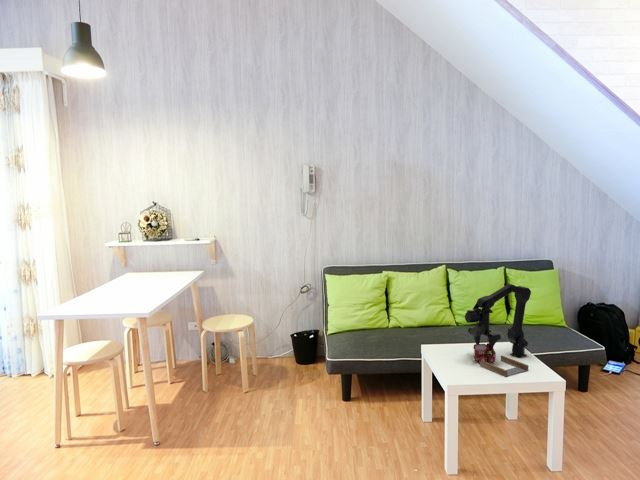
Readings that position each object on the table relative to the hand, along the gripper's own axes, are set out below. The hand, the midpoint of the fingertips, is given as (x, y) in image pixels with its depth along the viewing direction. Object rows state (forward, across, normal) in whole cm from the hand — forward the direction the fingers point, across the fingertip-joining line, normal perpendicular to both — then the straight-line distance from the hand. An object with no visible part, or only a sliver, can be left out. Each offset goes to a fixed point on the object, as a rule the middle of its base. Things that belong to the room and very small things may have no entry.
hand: (484, 348), depth 249 cm
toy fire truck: (+7, +2, -1) cm, 8 cm away
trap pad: (+7, +20, 0) cm, 21 cm away
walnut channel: (+7, +14, 0) cm, 16 cm away
